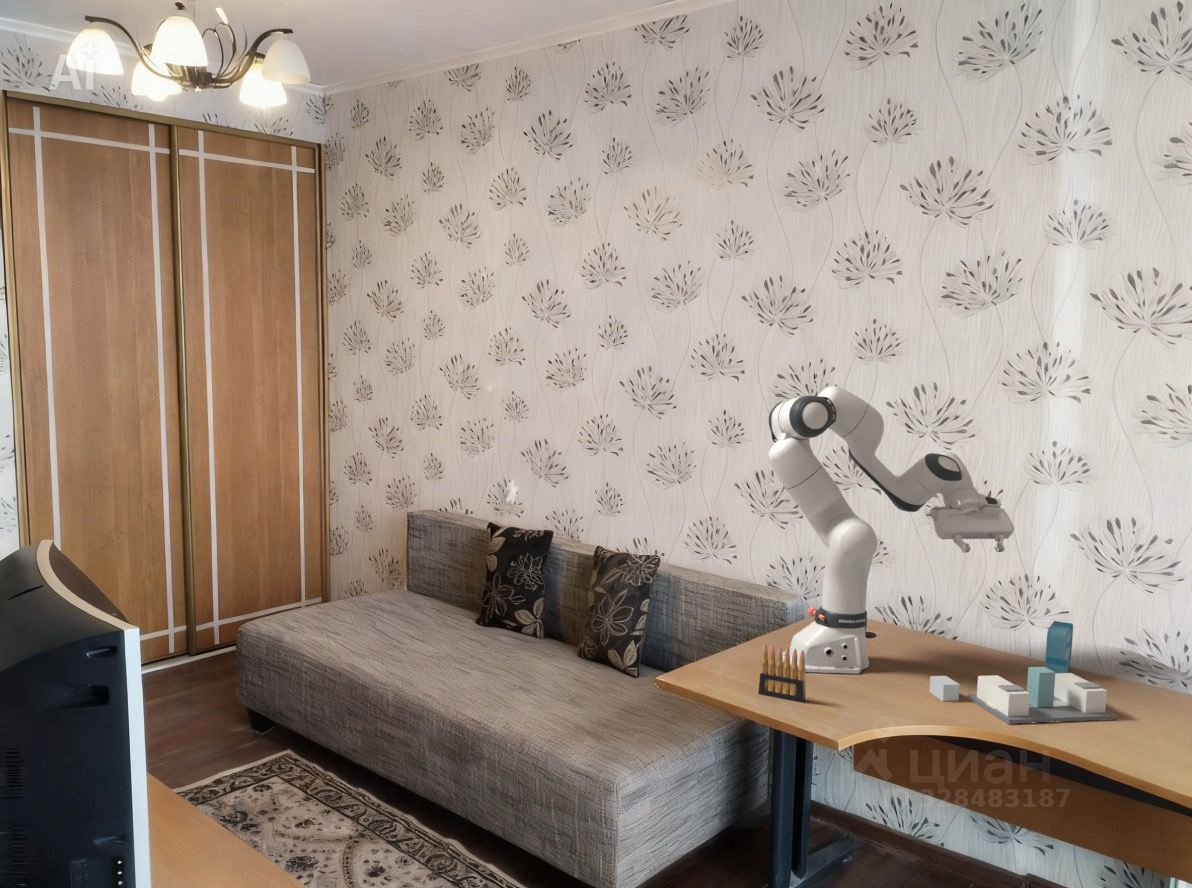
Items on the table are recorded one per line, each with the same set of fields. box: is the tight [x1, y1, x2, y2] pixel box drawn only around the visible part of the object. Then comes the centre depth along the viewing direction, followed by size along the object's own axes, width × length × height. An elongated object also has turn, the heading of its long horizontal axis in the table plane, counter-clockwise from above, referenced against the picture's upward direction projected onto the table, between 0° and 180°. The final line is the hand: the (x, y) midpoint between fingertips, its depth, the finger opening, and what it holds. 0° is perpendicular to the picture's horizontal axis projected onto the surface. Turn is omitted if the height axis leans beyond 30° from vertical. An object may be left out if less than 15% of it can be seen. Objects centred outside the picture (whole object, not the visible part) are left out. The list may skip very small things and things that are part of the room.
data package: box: [1044, 620, 1074, 673], centre depth 238 cm, size 12×4×12 cm, turn 146°
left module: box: [976, 675, 1030, 716], centre depth 210 cm, size 5×12×5 cm, turn 10°
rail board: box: [967, 693, 1116, 725], centre depth 212 cm, size 26×16×1 cm, turn 100°
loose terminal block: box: [928, 675, 961, 702], centre depth 218 cm, size 4×6×4 cm, turn 10°
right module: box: [1054, 672, 1108, 713], centre depth 213 cm, size 5×12×5 cm, turn 9°
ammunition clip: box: [757, 643, 806, 703], centre depth 214 cm, size 11×2×12 cm, turn 62°
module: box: [1026, 666, 1056, 707], centre depth 211 cm, size 4×4×8 cm
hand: (984, 551), depth 234 cm, fingers open, 8 cm apart
